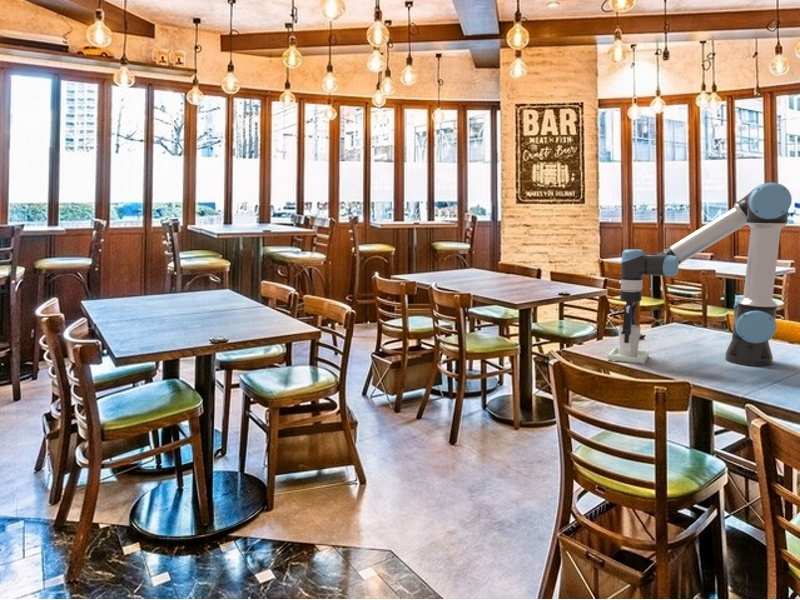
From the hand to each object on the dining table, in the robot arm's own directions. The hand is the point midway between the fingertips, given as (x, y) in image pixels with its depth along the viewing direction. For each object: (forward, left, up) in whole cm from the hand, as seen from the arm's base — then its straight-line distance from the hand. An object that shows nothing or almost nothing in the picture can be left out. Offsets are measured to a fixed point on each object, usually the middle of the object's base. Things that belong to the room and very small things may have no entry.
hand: (628, 348), depth 221 cm
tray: (0, 0, -4) cm, 4 cm away
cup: (0, 0, -4) cm, 4 cm away
